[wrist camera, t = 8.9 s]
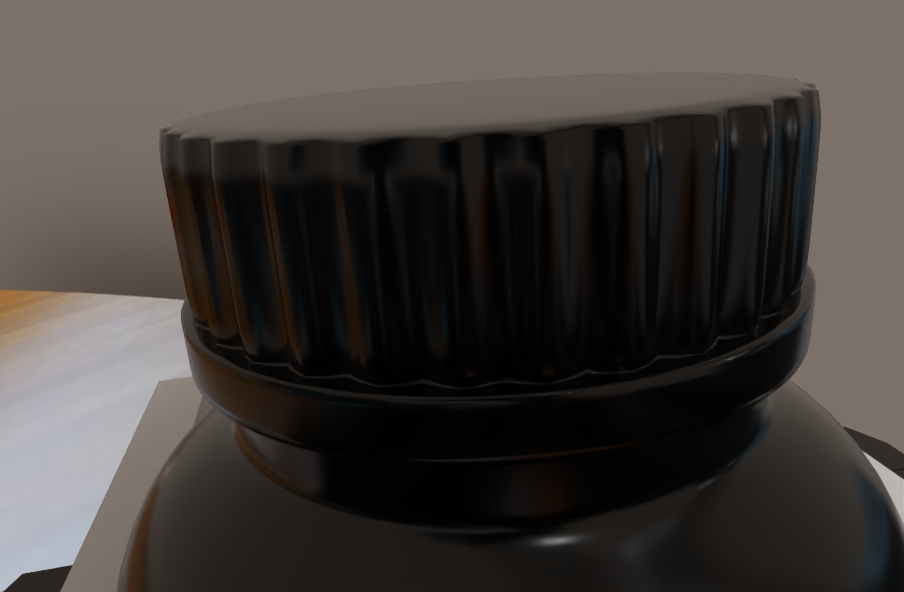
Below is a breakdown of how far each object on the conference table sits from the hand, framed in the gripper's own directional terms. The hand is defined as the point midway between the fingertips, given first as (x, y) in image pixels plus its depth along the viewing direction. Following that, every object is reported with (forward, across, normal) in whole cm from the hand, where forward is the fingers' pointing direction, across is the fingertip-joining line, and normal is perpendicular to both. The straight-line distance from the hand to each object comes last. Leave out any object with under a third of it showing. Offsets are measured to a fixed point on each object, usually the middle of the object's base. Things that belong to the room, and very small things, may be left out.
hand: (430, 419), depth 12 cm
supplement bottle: (-5, 0, -7) cm, 8 cm away
